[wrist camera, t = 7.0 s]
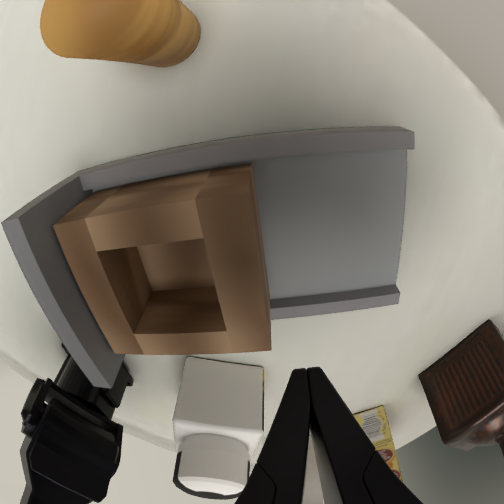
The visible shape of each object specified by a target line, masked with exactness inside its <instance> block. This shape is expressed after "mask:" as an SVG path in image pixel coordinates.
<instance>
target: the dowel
mask: <svg viewBox="0 0 504 504" xmlns="http://www.w3.org/2000/svg"><path fill="white" fill-rule="evenodd" d="M40 29H41V35H42V38H43V41H44V43H45V44H46V46H47V47H48V48H49V49H50V50H51V51H52V52H53V53H55V54H56V55H59V56H61V57H65V58H82V59H97V60H108V61H118V62H127V63H135V64H142V65H149V66H155V67H169V66H173V65H176V64H178V63H180V62H182V61H184V60H185V59H187V58H188V57H189V56H190V55H191V54H192V53H193V51H194V50H195V49H196V47H197V45H198V42H199V40H200V33H201V31H200V25H199V22H198V20H197V18H196V17H195V16H194V14H193V13H192V12H191V11H190V10H189V9H188V8H187V7H186V6H185V5H184V4H183V3H182V2H181V1H180V0H45V3H44V6H43V9H42V13H41V19H40Z"/></svg>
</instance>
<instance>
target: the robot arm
mask: <svg viewBox="0 0 504 504" xmlns="http://www.w3.org/2000/svg"><path fill="white" fill-rule="evenodd" d="M62 347H63V348H64V350H65V351H66V353H67V354H68V356H67V358H66V360H65V361H64V363H63V365H62V367H61V369H60V371H59V373H58V375H57V377H56V379H55V381H54V382H53V381H52V380H51V379H50V378H47V379H46V380H45V381H44V380H42V379H39V378H37V379H36V381H35V383H34V385H33V387H32V388H31V390H30V393H29V395H28V397H27V399H26V402H25V404H24V406H23V409H22V412H21V415H22V419H23V422H22V424H23V426H22V430H21V432H22V433H24V434H25V435H26V436H25V439H24V441H23V444H22V446H21V449H20V455H21V461H22V466H23V471H24V475H25V480H26V487H25V490H24V493H23V496H22V499H21V502H20V504H89V503H91V502H92V501H94V502H97V503H99V502H101V501H102V500H103V499H104V498H105V497H106V494H107V490H108V485H109V481H110V479H111V477H112V476H113V475H114V474H115V472H116V470H117V468H118V466H119V462H120V457H121V445H122V433H123V426H122V425H120V424H119V423H118V424H117V423H115V422H113V421H112V420H111V419H112V416H113V413H114V410H115V408H118V407H119V406H120V403H121V400H122V397H123V394H124V391H125V388H126V386H132V385H133V380H132V379H131V377H130V375H129V374H128V372H127V371H126V369H125V368H124V366H123V365H122V364H121V366H120V369H119V371H118V374H117V376H116V379H115V382H114V384H113V387H112V388H103V387H95V386H93V385H92V383H91V382H90V381H89V379H88V378H87V377H86V375H85V374H84V373H83V371H82V370H81V369H80V367H79V366H78V364H77V363H76V362H75V360H74V359H73V357H72V356H71V354H70V353H69V351H68V350H67V348H66V347H65V345H64V344H63V342H62ZM44 401H46V402H47V403H48V404H46V403H44ZM309 432H310V433H311V438H312V443H313V448H314V453H315V458H316V463H317V468H318V473H319V478H320V483H321V488H322V493H323V498H324V503H325V504H423V503H422V502H421V501H420V500H419V499H418V498H417V497H416V496H415V495H414V494H413V493H412V492H411V491H410V490H409V489H408V488H407V487H406V485H405V484H404V483H403V482H402V481H401V480H400V479H399V478H398V477H397V476H396V474H395V473H394V472H393V471H392V470H391V468H390V467H389V466H388V464H387V463H386V462H385V460H384V459H383V458H382V456H381V455H380V453H379V452H378V450H375V449H376V448H375V446H374V445H373V443H372V442H371V440H370V439H369V437H368V436H367V435H366V433H365V432H364V430H363V429H362V427H361V426H360V424H359V423H358V421H357V420H356V419H355V417H354V416H353V414H352V413H351V411H350V410H349V408H348V407H347V405H346V404H345V402H344V401H343V400H342V398H341V397H340V395H339V394H338V392H337V391H336V389H335V388H334V386H333V385H332V383H331V382H330V380H329V379H328V377H327V376H326V375H325V373H324V372H323V370H322V369H321V368H320V367H311V368H307V370H306V369H305V368H301V369H294V370H293V371H292V373H291V376H290V379H289V382H288V384H287V387H286V390H285V392H284V395H283V398H282V400H281V403H280V406H279V408H278V411H277V413H276V416H275V419H274V421H273V424H272V426H271V429H270V431H269V434H268V436H267V438H266V441H265V443H264V446H263V448H262V450H261V453H260V455H259V457H258V460H257V464H255V466H254V469H253V471H252V473H251V475H250V477H249V479H248V481H247V483H246V485H245V487H244V489H243V491H242V492H241V494H240V496H239V497H238V499H237V501H236V502H235V504H303V496H304V487H305V478H306V468H307V458H308V446H309Z"/></svg>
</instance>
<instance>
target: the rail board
mask: <svg viewBox="0 0 504 504" xmlns="http://www.w3.org/2000/svg"><path fill="white" fill-rule="evenodd" d="M407 149H414V132H412V131H410V130H407V129H404V128H401V127H348V128H327V129H311V130H298V131H287V132H277V133H267V134H259V135H250V136H243V137H236V138H229V139H222V140H215V141H209V142H203V143H198V144H192V145H186V146H181V147H176V148H171V149H166V150H161V151H157V152H152V153H147V154H143V155H139V156H134V157H130V158H126V159H122V160H118V161H114V162H110V163H107V164H103V165H99V166H96V167H92V168H89V169H85V170H82V171H78V172H76V173H74V174H73V175H71V176H69V177H68V178H66V179H64V180H63V181H61V182H60V183H58V184H56V185H55V186H53V187H52V188H50V189H49V190H47V191H45V192H44V193H42V194H41V195H39V196H38V197H36V198H35V199H33V200H32V201H31V202H29V203H28V204H26V205H25V206H23V207H22V208H21V209H19V210H18V211H16V212H15V213H14V214H12V215H11V216H10V217H8V218H7V219H5V220H4V221H3V222H2V223H1V224H2V226H3V229H4V231H5V234H6V236H7V239H8V241H9V243H10V246H11V248H12V250H13V253H14V255H15V257H16V259H17V261H18V264H19V266H20V268H21V270H22V272H23V274H24V276H25V278H26V280H27V282H28V284H29V286H30V288H31V290H32V292H33V293H34V295H35V297H36V299H37V301H38V303H39V304H40V306H41V308H42V310H43V311H44V313H45V315H46V317H47V318H48V320H49V322H50V323H51V325H52V327H53V328H54V330H55V331H56V333H57V335H58V336H59V338H60V339H61V341H62V342H63V344H64V345H65V347H66V348H67V350H68V351H69V353H70V354H71V356H72V357H73V359H74V360H75V362H76V363H77V364H78V366H79V367H80V369H81V370H82V371H83V373H84V374H85V375H86V377H87V378H88V379H89V381H90V382H91V383H92V385H93V386H95V387H103V388H112V387H113V384H114V382H115V379H116V376H117V374H118V371H119V369H120V366H121V364H122V361H123V359H124V356H125V354H115V352H114V351H113V349H112V347H111V346H110V344H109V342H108V340H107V339H106V337H105V335H104V333H103V332H102V330H101V328H100V326H99V325H98V323H97V321H96V319H95V317H94V315H93V313H92V311H91V310H90V308H89V306H88V304H87V302H86V300H85V298H84V296H83V294H82V292H81V290H80V288H79V285H78V283H77V281H76V279H75V277H74V275H73V273H72V270H71V268H70V266H69V264H68V261H67V259H66V257H65V254H64V252H63V250H62V247H61V245H60V242H59V240H58V237H57V235H56V232H55V230H54V227H53V225H54V224H55V223H56V222H57V221H59V220H60V219H61V218H62V217H63V216H65V215H66V214H67V213H68V212H70V211H71V210H72V209H73V208H74V207H76V206H77V205H78V204H79V203H81V202H82V201H83V200H85V199H86V198H87V197H88V196H90V195H91V194H92V193H94V192H95V191H98V190H102V189H107V188H111V187H115V186H120V185H124V184H129V183H134V182H139V181H144V180H149V179H154V178H159V177H164V176H170V175H175V174H181V173H187V172H193V171H199V170H205V169H212V168H218V167H225V166H233V165H240V164H248V163H252V168H253V175H254V182H255V190H256V197H257V204H258V211H259V219H260V226H261V233H262V241H263V248H264V256H265V263H266V271H267V278H268V286H269V294H270V320H273V319H284V318H294V317H304V316H313V315H322V314H330V313H338V312H346V311H353V310H360V309H367V308H374V307H381V306H387V305H394V304H398V302H399V297H400V292H399V290H398V288H397V286H396V279H397V272H398V265H399V258H400V250H401V241H402V232H403V221H404V209H405V194H406V170H407Z"/></svg>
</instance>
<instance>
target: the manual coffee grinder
mask: <svg viewBox="0 0 504 504" xmlns="http://www.w3.org/2000/svg"><path fill="white" fill-rule="evenodd" d="M418 376H419V379H420V381H421V384H422V386H423V389H424V392H425V394H426V397H427V400H428V402H429V405H430V408H431V411H432V413H433V416H434V419H435V422H436V424H437V427H438V430H439V433H440V436H441V439H442V441H443V442H444V444H446V445H448V446H451V447H455V448H458V449H461V450H466V451H469V450H470V449H472V448H473V447H475V446H485V445H494V444H496V443H497V444H499V446H500V448H501V450H502V453H503V456H504V339H503V338H502V335H501V334H500V332H499V330H498V329H497V327H496V326H495V325H494V324H493V323H492V322H491V321H490V320H487V321H486V322H485V323H483V324H482V325H480V326H479V327H478V328H477V329H475V330H474V331H473V332H472V333H471V334H469V335H468V336H467V337H466V338H465V339H463V340H462V341H461V342H460V343H459V344H457V345H456V346H455V347H454V348H452V349H451V350H450V351H449V352H447V353H446V354H445V355H444V356H442V357H441V358H440V359H439V360H438V361H436V362H435V363H434V364H432V365H431V366H430V367H429V368H427V369H426V370H425V371H423V372H422V373H421V374H419V375H418Z"/></svg>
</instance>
